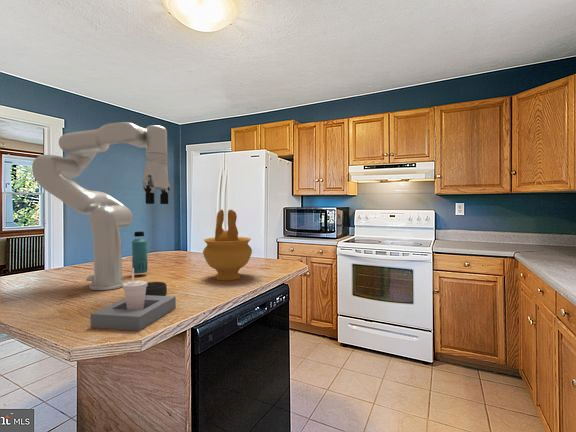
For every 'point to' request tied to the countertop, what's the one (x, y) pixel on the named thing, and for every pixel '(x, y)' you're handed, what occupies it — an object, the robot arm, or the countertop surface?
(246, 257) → the decorative bowl
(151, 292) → the smart speaker
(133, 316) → the socket block
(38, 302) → the countertop surface
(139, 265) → the beverage bottle
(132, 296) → the smoothie
